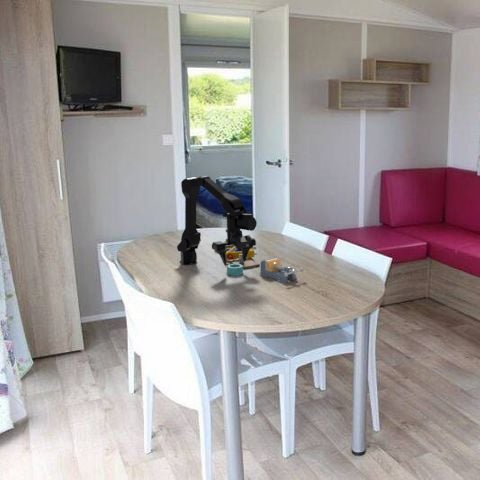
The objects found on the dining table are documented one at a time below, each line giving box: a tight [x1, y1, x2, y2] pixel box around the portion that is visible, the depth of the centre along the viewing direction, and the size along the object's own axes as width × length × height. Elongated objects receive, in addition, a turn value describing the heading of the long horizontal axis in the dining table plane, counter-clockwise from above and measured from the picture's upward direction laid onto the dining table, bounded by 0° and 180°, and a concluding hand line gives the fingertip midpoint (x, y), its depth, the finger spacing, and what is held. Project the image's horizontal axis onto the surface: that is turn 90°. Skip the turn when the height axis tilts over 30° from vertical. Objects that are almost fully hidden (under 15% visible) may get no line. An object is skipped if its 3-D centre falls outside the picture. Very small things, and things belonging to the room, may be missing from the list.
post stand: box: [225, 254, 261, 270], centre depth 242 cm, size 12×12×5 cm
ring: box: [226, 264, 244, 276], centre depth 231 cm, size 6×6×3 cm
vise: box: [259, 257, 305, 283], centre depth 223 cm, size 18×10×7 cm, turn 39°
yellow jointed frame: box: [222, 240, 257, 261], centre depth 259 cm, size 18×6×30 cm
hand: (234, 263), depth 231 cm, fingers open, 9 cm apart
